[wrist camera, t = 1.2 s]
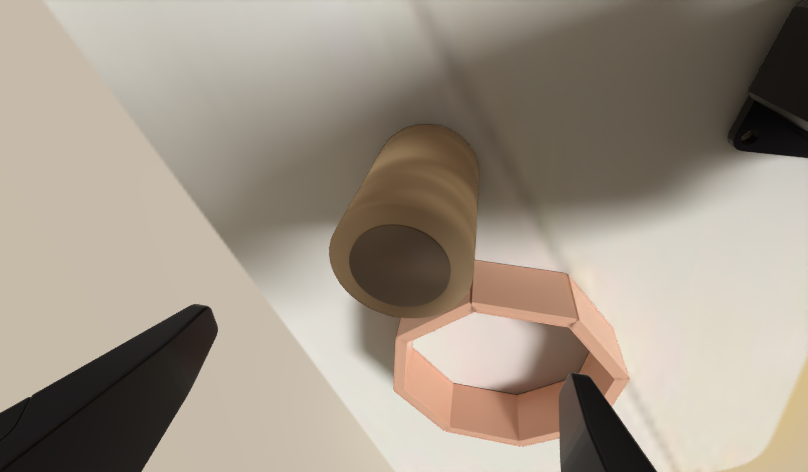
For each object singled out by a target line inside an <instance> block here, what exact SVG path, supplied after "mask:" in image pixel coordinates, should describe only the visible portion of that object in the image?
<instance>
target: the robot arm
mask: <svg viewBox="0 0 808 472" xmlns="http://www.w3.org/2000/svg"><path fill="white" fill-rule="evenodd" d="M749 93H750V95H749V97H748V99H747V101H746V102H745V104H744V106H743V108H742V110H741V111H740V113H739V115H738V117H737V119H736V120H735V122H734V124H733V126H732V128H731V129H730V131H729V134H728V137H727V138H728V142H729V143H730V144H731V145H732V146H733V147H734V148H736V149H737V150H740V151H746V152H756V153H766V154H775V155H785V156H795V157H804V158H808V0H802V1H801V3H799V4H798V5H797V6H795V7H794V8H793V10H792V11H791V13H790V15H789V17H788V19H787V20H786V22H785V24H784V26H783V28H782V30H781V31H780V33H779V35H778V37H777V39H776V40H775V42H774V44H773V46H772V48H771V50H770V51H769V53H768V55H767V57H766V59H765V61H764V62H763V64H762V66H761V68H760V70H759V72H758V73H757V75H756V77H755V79H754V81H753V83H752V84H751V86H750V88H749ZM749 131H753V133H752V135H751V136H750V137H749V138H747V139H746V140H741V139H742V136H743V135H744V134H745V133H747V132H749ZM217 332H218V327H217V323H216V321H215V318H214V315H213V313H212V310H211V308H210V307H208V306H204V305H199V304H193V305H191V306H189V307H187V308H185V309H183V310H181V311H180V312H178V313H176V314H174V315H173V316H171V317H169V318H168V319H166V320H164V321H162V322H161V323H159V324H157V325H155V326H153V327H151V328H150V329H148V330H146V331H144V332H143V333H141V334H139V335H138V336H136V337H134V338H132V339H130V340H129V341H127V342H125V343H123V344H121V345H120V346H118V347H117V348H115V349H113V350H111V351H109V352H108V353H106V354H104V355H102V356H101V357H99V358H97V359H95V360H93V361H92V362H90V363H88V364H86V365H84V366H83V367H81V368H79V369H77V370H76V371H74V372H72V373H70V374H68V375H67V376H65V377H63V378H61V379H60V380H58V381H56V382H54V383H53V384H51V385H49V386H47V387H46V388H44V389H42V390H40V391H39V392H37V393H35V394H33V395H32V397H28V398H26V399H24V400H22V401H21V402H19V403H17V404H15V405H14V406H12V407H10V408H8V409H6V410H5V411H3V412H1V413H0V472H141V471H142V470H143V468H144V466H145V464H146V463H147V462H148V460H149V458H150V456H151V455H152V453H153V452H154V450H155V448H156V447H157V445H158V443H159V442H160V440H161V438H162V437H163V435H164V433H165V432H166V430H167V428H168V427H169V425H170V423H171V422H172V420H173V418H174V417H175V415H176V414H177V412H178V410H179V408H180V407H181V405H182V404H183V402H184V400H185V399H186V397H187V395H188V393H189V392H190V390H191V388H192V386H193V384H194V382H195V380H196V378H197V376H198V374H199V372H200V369H201V367H202V365H203V363H204V361H205V359H206V357H207V355H208V353H209V351H210V348H211V347H212V344H213V342H214V340H215V338H216V336H217ZM559 434H560V463H561V472H657V471H656V469H655V468H654V467H653V465H652V464H651V462H650V461H649V459H648V458H647V457H646V455H645V454H644V452H643V451H642V449H641V448H640V447H639V445H638V444H637V442H636V441H635V439H634V438H633V437H632V435H631V434H630V432H629V431H628V429H627V428H626V427H625V425H624V424H623V422H622V421H621V419H620V418H619V417H618V415H617V414H616V412H615V411H614V409H613V408H612V407H611V405H610V404H609V402H608V401H607V399H606V398H605V397H604V395H603V394H602V392H601V391H600V389H599V388H598V387H597V385H596V384H595V382H594V381H593V379H592V378H591V377H590V376H588V375H586V374H582V373H576V372H571V373H569V374H568V376H567V378H566V380H565V382H564V384H563V386H562V388H561V390H560V393H559Z"/></svg>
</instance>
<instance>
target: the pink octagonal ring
mask: <svg viewBox="0 0 808 472" xmlns="http://www.w3.org/2000/svg"><path fill="white" fill-rule="evenodd" d="M473 312H476V313H482V314H488V315H494V316H501V317H507V318H513V319H519V320H525V321H531V322H537V323H544V324H550V325H556V326H562V327H568V328H570V329H571V331H572V332H573V333H574V334H575V335H576V336H577V337H578V338H579V340H580V341H581V342H582V343H583V344H584V345H585V346H586V347H587V349H588V350H589V351H590V352H589V354H588V356H587V358H586V360H585V362H584V364H583V366H582V368H581V370H580V372H579V373H582V374H586V375H588V376H590V377H591V378H592V379H593V381H594V382H595V384H596V385H597V387H598V388H599V389H600V391H601V392H602V394H603V395H604V397H605V398H606V399H607V401H608V402H609V404H610V405H611V407H612V406H613V404H614V403H615V401H616V400H617V398H618V397H619V395H620V394H621V392H622V390H623V389H624V387H625V386H626V384H627V383H628V381H629V380H630V379H629V375H628V372H627V369H626V366H625V363H624V360H623V357H622V354H621V350H620V347H619V344H618V341H617V338H616V335H615V332H614V329H613V328H612V327H611V325H610V324H609V323H608V322H607V320H606V319H605V318H604V317H603V316H602V314H601V313H600V312H599V311H598V310H597V308H596V307H595V306H594V305H593V304H592V302H591V301H590V300H589V299H588V297H587V296H586V295H585V294H584V293H583V291H582V290H581V289H580V288H579V287H578V285H577V284H576V283H575V282H574V280H573V279H572V278H571V277H570V276H569V275H567V274H566V273H559V272H553V271H546V270H539V269H532V268H525V267H518V266H512V265H505V264H498V263H491V262H484V261H477V260H475V263H474V276H473V281H472V284H471V287H470V289H469V291H468V292H467V294H466V295H465V297H464V298H463V299H462V300H461V301H460V302H459V303H458V304H457V305H455V306H454V307H453V308H451V309H449V310H447V311H445V312H443V313H441V314H438V315H434V316H431V317H425V318H401V319H400V323H399V327H398V331H397V335H396V342H395V365H394V387H393V390H394V391H395V392H396V393H397V394H398V395H400V396H401V397H402V398H403V399H405V400H406V401H407V402H408V403H410V404H411V405H412V406H413V407H415V408H416V409H417V410H418V411H420V412H421V413H422V414H423V415H425V416H426V417H427V418H428V419H430V420H431V421H432V422H433V423H435V424H436V425H437V426H438V427H440V428H441V429H442V430H443V431H444V430H446V432H450V433H455V434H460V435H465V436H470V437H475V438H480V439H485V440H490V441H495V442H500V443H505V444H510V445H515V446H522V447H523V446H528V445H532V444H536V443H541V442H545V441H550V440H554V439H558V438H560V434H559V393H560V390H561V388H562V386H563V384H564V382H565V381H562V382H558V383H555V384H552V385H549V386H545V387H542V388H539V389H536V390H532V391H529V392H526V393H523V394H519V395H513V394H507V393H502V392H497V391H491V390H486V389H481V388H475V387H470V386H464V385H459V384H454V383H452V382H451V381H450V380H449V379H448V378H447V377H445V376H444V375H443V374H442V373H441V372H440V371H439V370H437V369H436V368H435V367H434V366H433V365H432V364H431V363H429V362H428V361H427V360H426V359H425V358H424V357H423V356H421V355H420V354H419V353H418V352H417V351H416V350H415V349H413V348H412V347H413V340H414V339H417V338H419V337H421V336H423V335H425V334H428V333H430V332H432V331H434V330H436V329H438V328H441V327H443V326H445V325H447V324H449V323H451V322H454V321H456V320H458V319H460V318H462V317H465V316H467V315H469V314H471V313H473Z"/></svg>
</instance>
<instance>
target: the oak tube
mask: <svg viewBox="0 0 808 472" xmlns="http://www.w3.org/2000/svg"><path fill="white" fill-rule="evenodd" d="M478 192H479V165H478V161H477V158H476V155H475V153H474V151H473V150H472V148H471V147H470V145H469V144H468V143H467V142H466V141H465V140H464V139H463V138H462V137H461V136H459V135H458V134H457V133H455V132H453V131H452V130H449V129H447V128H445V127H441V126H438V125H432V124H421V125H414V126H410V127H407V128H405V129H402V130H401V131H399V132H397V133H396V134H394V135H393V136H392V137H391V138H390V139H389V140H388V141H387V142H386V144H385V145H384V146H383V148H382V150H381V152H380V153H379V155H378V157H377V159H376V160H375V162H374V164H373V166H372V167H371V169H370V171H369V172H368V174H367V176H366V178H365V179H364V181H363V183H362V185H361V186H360V188H359V190H358V192H357V193H356V195H355V197H354V198H353V200H352V202H351V204H350V205H349V207H348V209H347V211H346V212H345V214H344V216H343V218H342V219H341V221H340V223H339V225H338V226H337V228H336V230H335V232H334V233H333V236H332V238H331V241H330V247H329V257H330V263H331V266H332V269H333V272H334V274H335V276H336V278H337V279H338V281H339V282H340V284H341V285H342V286H343V288H344V289H345V290H346V291H347V292H348V293H349V294H350V295H351V296H352V297H354V298H355V299H356V300H357V301H359V302H360V303H362V304H363V305H365V306H367V307H369V308H371V309H373V310H375V311H378V312H380V313H383V314H386V315H390V316H394V317H400V318H425V317H431V316H434V315H438V314H441V313H443V312H445V311H447V310H449V309H451V308H453V307H454V306H455V305H457V304H458V303H459V302H460V301H461V300H462V299H463V298H464V297H465V295H466V294H467V292H468V291H469V289H470V287H471V284H472V281H473V276H474V263H475V245H476V227H477V210H478Z"/></svg>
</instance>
